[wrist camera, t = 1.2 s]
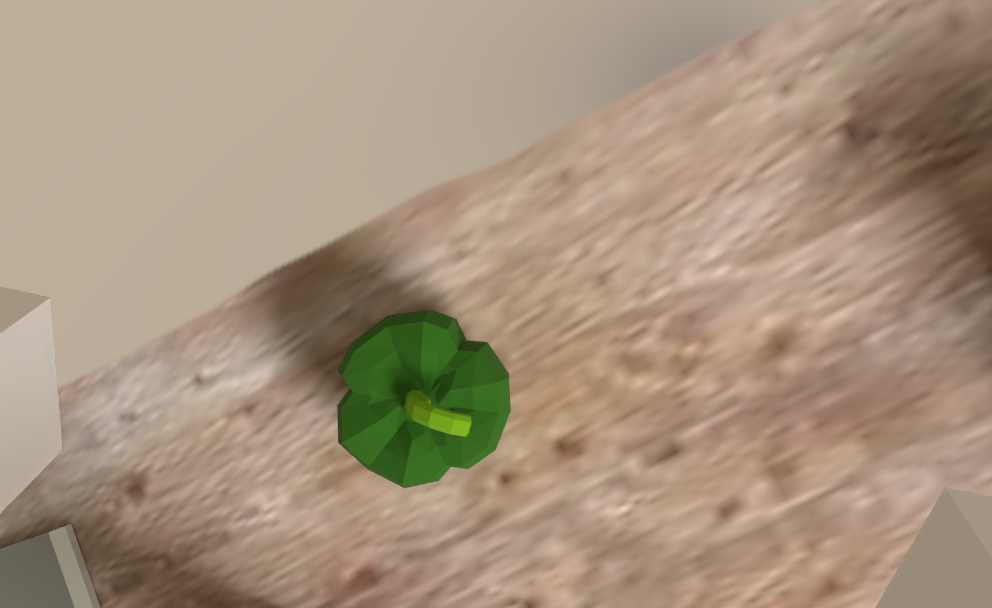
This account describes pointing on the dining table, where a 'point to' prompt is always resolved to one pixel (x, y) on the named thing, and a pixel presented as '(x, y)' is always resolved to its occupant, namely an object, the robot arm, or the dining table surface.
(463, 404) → the bell pepper
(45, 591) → the gray plastic tray
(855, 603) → the dining table surface
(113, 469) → the dining table surface
